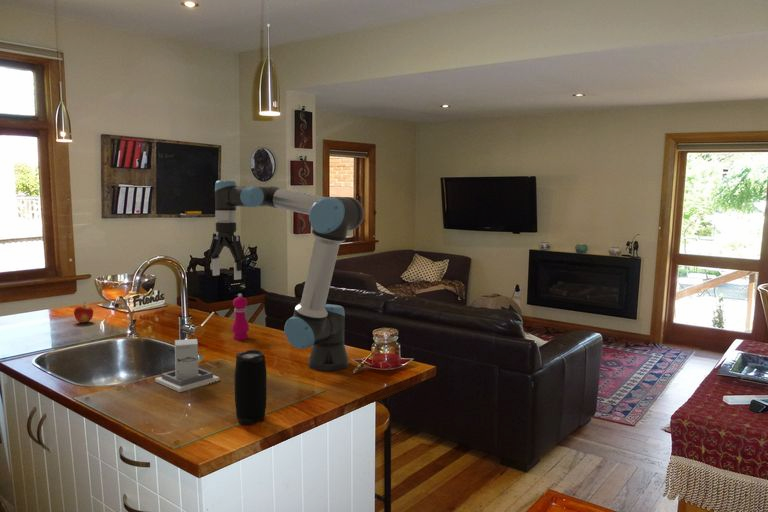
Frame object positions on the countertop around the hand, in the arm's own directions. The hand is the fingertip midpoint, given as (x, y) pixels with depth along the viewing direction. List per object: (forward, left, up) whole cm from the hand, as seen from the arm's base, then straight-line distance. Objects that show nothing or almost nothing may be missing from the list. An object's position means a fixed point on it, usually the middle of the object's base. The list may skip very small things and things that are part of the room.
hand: (226, 277), depth 216 cm
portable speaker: (-54, +31, -32) cm, 70 cm away
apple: (+97, +12, -32) cm, 103 cm away
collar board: (-12, +25, -32) cm, 42 cm away
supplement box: (-12, +25, -31) cm, 41 cm away
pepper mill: (+20, -21, -32) cm, 43 cm away
